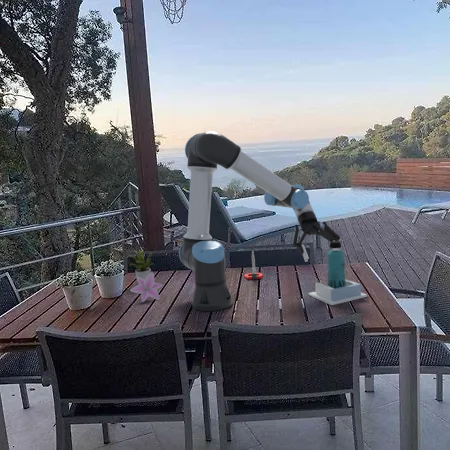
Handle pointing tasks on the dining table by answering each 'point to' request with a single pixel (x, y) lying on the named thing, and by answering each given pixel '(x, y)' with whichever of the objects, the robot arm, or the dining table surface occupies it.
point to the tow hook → (253, 271)
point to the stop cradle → (338, 293)
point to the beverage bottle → (336, 266)
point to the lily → (147, 287)
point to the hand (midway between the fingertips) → (323, 257)
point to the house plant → (142, 265)
